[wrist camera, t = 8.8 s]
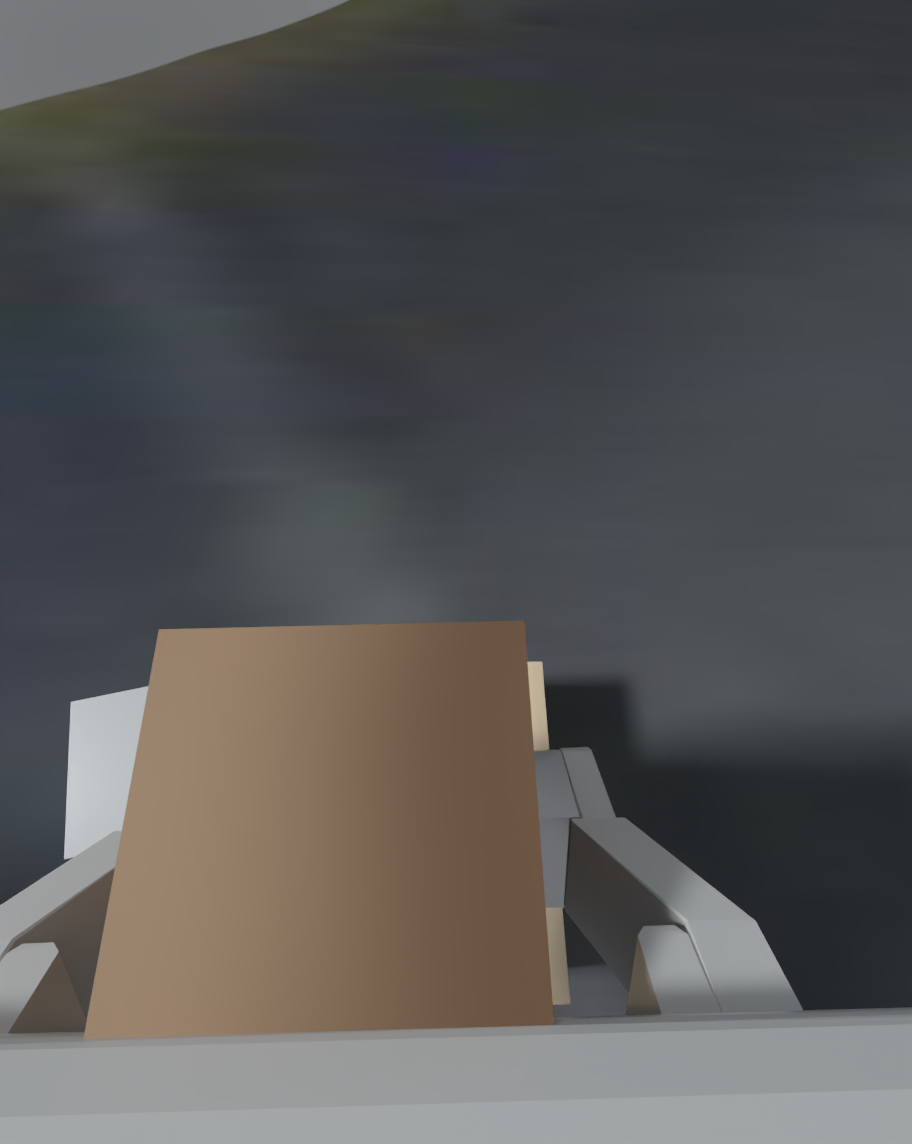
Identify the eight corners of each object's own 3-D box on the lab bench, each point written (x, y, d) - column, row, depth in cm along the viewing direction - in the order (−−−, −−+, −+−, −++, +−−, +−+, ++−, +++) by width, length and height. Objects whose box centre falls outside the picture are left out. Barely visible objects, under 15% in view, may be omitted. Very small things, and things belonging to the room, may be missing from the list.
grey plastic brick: (130, 851, 22) (63, 859, 18) (130, 719, 24) (71, 702, 20) (263, 821, 22) (225, 823, 18) (253, 694, 24) (217, 672, 20)
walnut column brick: (327, 911, 14) (73, 1095, 5) (336, 740, 16) (158, 629, 6) (491, 907, 14) (558, 1080, 5) (484, 736, 16) (524, 621, 6)
